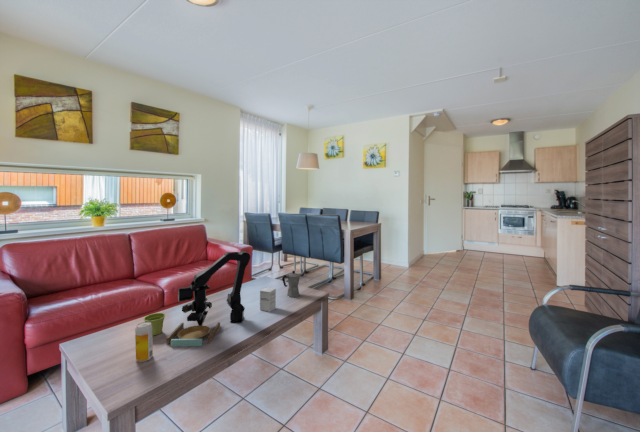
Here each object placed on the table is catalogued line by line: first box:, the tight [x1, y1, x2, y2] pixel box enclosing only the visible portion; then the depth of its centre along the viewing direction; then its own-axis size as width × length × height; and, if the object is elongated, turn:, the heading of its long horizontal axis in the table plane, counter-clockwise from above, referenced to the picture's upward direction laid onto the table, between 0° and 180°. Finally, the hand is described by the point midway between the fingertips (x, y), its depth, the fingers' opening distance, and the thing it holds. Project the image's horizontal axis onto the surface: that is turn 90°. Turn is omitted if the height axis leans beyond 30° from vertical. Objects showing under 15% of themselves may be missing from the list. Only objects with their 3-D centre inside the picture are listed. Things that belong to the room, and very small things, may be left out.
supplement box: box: [259, 287, 277, 312], centre depth 171 cm, size 7×7×13 cm
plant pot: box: [143, 312, 166, 337], centre depth 138 cm, size 9×9×9 cm
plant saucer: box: [177, 324, 211, 340], centre depth 136 cm, size 15×15×3 cm
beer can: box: [134, 321, 154, 363], centre depth 116 cm, size 6×6×15 cm
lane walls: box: [165, 322, 221, 345], centre depth 137 cm, size 20×16×3 cm
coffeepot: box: [281, 270, 303, 298], centre depth 196 cm, size 15×9×18 cm, turn 122°
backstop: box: [170, 338, 203, 347], centre depth 127 cm, size 14×1×3 cm, turn 93°
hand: (200, 326), depth 144 cm, fingers closed
